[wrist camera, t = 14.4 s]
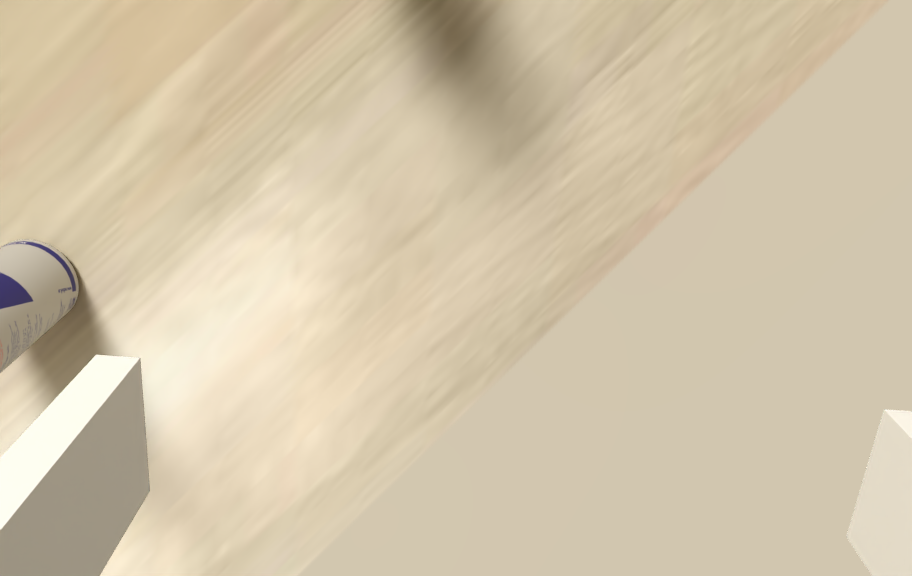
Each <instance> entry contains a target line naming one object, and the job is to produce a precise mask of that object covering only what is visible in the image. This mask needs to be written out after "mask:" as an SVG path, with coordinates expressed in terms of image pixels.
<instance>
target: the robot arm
mask: <svg viewBox="0 0 912 576" xmlns="http://www.w3.org/2000/svg"><path fill="white" fill-rule="evenodd" d="M149 491H150V486H149V472H148V458H147V444H146V430H145V417H144V403H143V389H142V375H141V361H140V358H137V357H122V356H108V355H95V356H94V357H93V359H92V360H91V361H90V362H89V363H88V364H87V365H86V366H85V367H84V368H83V369H82V370H81V371H80V373H79V374H78V375H77V376H76V377H75V378H74V379H73V380H72V381H71V382H70V383H69V384H68V385H67V387H66V388H65V389H64V390H63V391H62V392H61V393H60V394H59V395H58V396H57V397H56V398H55V399H54V401H53V402H52V403H51V404H50V405H49V406H48V407H47V408H46V409H45V410H44V411H43V412H42V413H41V415H40V416H39V417H38V418H37V419H36V420H35V421H34V422H33V423H32V424H31V425H30V426H29V427H28V429H27V430H26V431H25V432H24V433H23V434H22V435H21V436H20V437H19V438H18V439H17V440H16V441H15V443H14V444H13V445H12V446H11V447H10V448H9V449H8V450H7V451H6V452H5V453H4V454H3V455H2V457H1V458H0V576H100V574H101V572H102V571H103V569H104V567H105V566H106V564H107V562H108V561H109V559H110V557H111V555H112V554H113V552H114V550H115V549H116V547H117V545H118V544H119V542H120V540H121V539H122V537H123V535H124V533H125V532H126V530H127V528H128V527H129V525H130V523H131V522H132V520H133V518H134V517H135V515H136V513H137V511H138V510H139V508H140V506H141V505H142V503H143V501H144V500H145V498H146V496H147V494H148V493H149ZM846 537H847V539H848V540H849V542H850V543H851V545H852V546H853V548H854V549H855V551H856V552H857V554H858V555H859V557H860V558H861V560H862V561H863V563H864V564H865V566H866V568H867V569H868V571H869V572H870V574H871V575H872V576H912V411H900V410H886V409H884V411H883V415H882V418H881V422H880V425H879V428H878V432H877V435H876V438H875V442H874V445H873V448H872V452H871V455H870V458H869V462H868V465H867V468H866V472H865V475H864V479H863V482H862V485H861V489H860V492H859V495H858V499H857V503H856V505H855V509H854V512H853V515H852V519H851V523H850V526H849V529H848V532H847V536H846Z"/></svg>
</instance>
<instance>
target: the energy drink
mask: <svg viewBox="0 0 912 576" xmlns="http://www.w3.org/2000/svg"><path fill="white" fill-rule="evenodd" d="M78 292H79V285H78V279H77V275H76V272H75V270H74V268H73V266H72V265H71V263H70V262H69V261H68V259H67V258H66V257H65V256H64V255H63V254H62V253H61V252H60V251H58V250H57V249H55V248H54V247H52V246H50V245H48V244H46V243H43V242H40V241H36V240H29V239H24V240H16V241H13V242H10V243H8V244H6V245H4V246H2V247H1V248H0V373H1V372H2V371H3V370H4V369H5V368H7V367H8V366H9V365H10V364H11V363H12V362H13V361H14V360H16V359H17V358H18V357H19V356H20V355H21V354H22V353H23V352H24V351H26V350H27V349H28V348H29V347H30V346H31V345H32V344H33V343H35V342H36V341H37V340H38V339H39V338H40V337H41V336H42V335H43V334H45V333H46V332H47V331H48V330H49V329H50V328H51V327H52V326H53V325H55V324H56V323H57V322H58V321H59V320H60V319H61V318H62V317H64V316H65V315H66V314H67V313H68V312H69V311H70V310H71V309H72V307H73V306H74V305H75V302H76V300H77V298H78Z"/></svg>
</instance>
